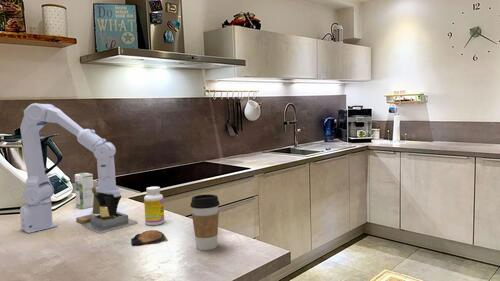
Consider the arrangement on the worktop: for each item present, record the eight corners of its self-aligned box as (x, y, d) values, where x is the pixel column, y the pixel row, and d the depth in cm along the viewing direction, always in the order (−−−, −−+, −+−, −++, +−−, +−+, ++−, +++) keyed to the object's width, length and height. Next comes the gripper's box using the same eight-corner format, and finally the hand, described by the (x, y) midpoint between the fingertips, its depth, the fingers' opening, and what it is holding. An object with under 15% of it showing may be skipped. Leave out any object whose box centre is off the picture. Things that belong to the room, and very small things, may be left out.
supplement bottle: (163, 225, 129) (161, 189, 128) (144, 226, 128) (142, 190, 127) (165, 219, 136) (163, 185, 135) (146, 221, 135) (144, 186, 134)
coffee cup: (196, 254, 101) (194, 200, 100) (189, 244, 109) (186, 194, 108) (225, 248, 105) (223, 196, 104) (216, 239, 112) (214, 191, 111)
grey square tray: (99, 233, 122) (99, 224, 122) (81, 225, 132) (81, 217, 132) (137, 223, 133) (137, 214, 132) (118, 216, 142) (117, 208, 142)
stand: (83, 224, 133) (83, 220, 133) (76, 221, 137) (76, 217, 137) (99, 220, 138) (99, 216, 137) (92, 217, 142) (92, 214, 142)
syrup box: (75, 207, 159) (73, 174, 158) (89, 204, 164) (87, 172, 163) (81, 209, 155) (79, 175, 154) (95, 206, 160) (93, 173, 159)
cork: (103, 209, 154) (102, 183, 153) (111, 211, 150) (109, 184, 149) (89, 212, 150) (87, 185, 149) (96, 214, 146) (94, 187, 145)
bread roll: (164, 235, 120) (163, 224, 120) (168, 243, 112) (168, 231, 112) (129, 240, 116) (129, 229, 116) (132, 249, 108) (131, 237, 108)
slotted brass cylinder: (118, 221, 132) (117, 205, 132) (105, 225, 128) (104, 208, 128) (110, 219, 135) (109, 203, 135) (98, 223, 131) (96, 206, 131)
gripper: (127, 176, 129) (129, 214, 130) (107, 173, 139) (110, 208, 140) (108, 180, 124) (110, 219, 125) (89, 176, 134) (91, 212, 135)
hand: (109, 214), depth 132 cm, fingers closed on slotted brass cylinder, 5 cm apart
